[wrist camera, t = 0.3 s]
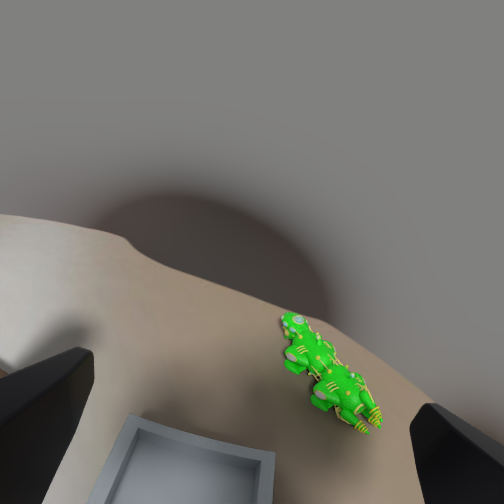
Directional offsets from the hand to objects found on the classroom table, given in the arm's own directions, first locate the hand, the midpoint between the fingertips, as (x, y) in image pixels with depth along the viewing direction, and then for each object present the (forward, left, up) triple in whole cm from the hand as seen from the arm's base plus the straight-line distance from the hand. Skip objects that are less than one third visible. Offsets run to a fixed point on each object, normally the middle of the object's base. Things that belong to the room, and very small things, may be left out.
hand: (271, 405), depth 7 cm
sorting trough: (+3, +2, -17) cm, 17 cm away
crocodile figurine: (+20, -9, -17) cm, 28 cm away
